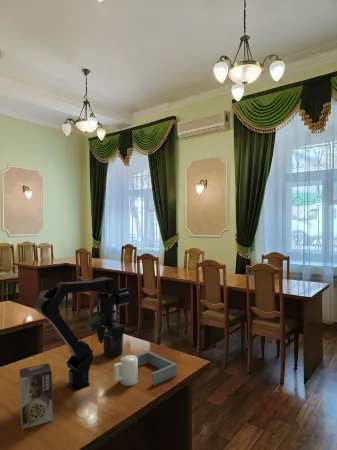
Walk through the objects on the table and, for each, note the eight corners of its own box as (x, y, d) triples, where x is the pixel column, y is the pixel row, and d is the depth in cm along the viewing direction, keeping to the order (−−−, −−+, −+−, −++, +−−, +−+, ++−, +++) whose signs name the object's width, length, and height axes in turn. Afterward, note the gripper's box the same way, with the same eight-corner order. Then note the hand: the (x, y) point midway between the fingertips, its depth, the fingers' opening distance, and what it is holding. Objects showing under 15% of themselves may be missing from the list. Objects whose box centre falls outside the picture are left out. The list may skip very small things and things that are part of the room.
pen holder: (126, 351, 156) (126, 330, 156) (117, 359, 147) (117, 337, 147) (109, 348, 159) (109, 328, 159) (99, 356, 150) (99, 335, 150)
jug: (131, 375, 131) (130, 353, 131) (141, 381, 126) (141, 358, 126) (110, 384, 124) (109, 361, 124) (120, 390, 119) (119, 366, 119)
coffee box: (50, 410, 107) (49, 362, 107) (53, 421, 101) (52, 370, 101) (20, 418, 103) (19, 368, 103) (21, 430, 97) (20, 377, 97)
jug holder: (154, 385, 123) (153, 373, 123) (126, 369, 137) (126, 359, 137) (176, 375, 131) (176, 364, 131) (148, 361, 145) (148, 351, 145)
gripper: (77, 307, 133) (77, 345, 133) (101, 317, 120) (102, 358, 120) (100, 302, 141) (101, 338, 141) (125, 311, 127) (126, 350, 127)
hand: (106, 346), depth 132 cm, fingers open, 9 cm apart
